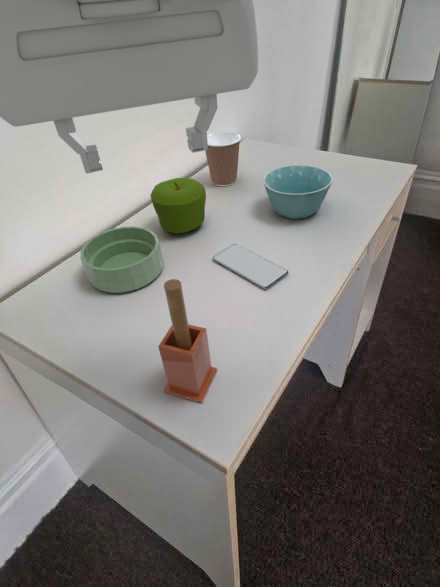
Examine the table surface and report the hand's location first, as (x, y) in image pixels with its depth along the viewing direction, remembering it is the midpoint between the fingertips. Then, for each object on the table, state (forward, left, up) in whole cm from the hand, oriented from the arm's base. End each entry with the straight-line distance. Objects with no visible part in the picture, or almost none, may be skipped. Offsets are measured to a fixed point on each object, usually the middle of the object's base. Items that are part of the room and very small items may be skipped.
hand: (147, 159), depth 33 cm
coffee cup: (-19, +66, -33) cm, 76 cm away
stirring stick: (0, 0, -32) cm, 32 cm away
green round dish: (-24, +21, -33) cm, 46 cm away
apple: (-20, +40, -33) cm, 56 cm away
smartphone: (0, +29, -33) cm, 44 cm away
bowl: (+4, +54, -33) cm, 64 cm away
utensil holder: (0, 0, -33) cm, 33 cm away
